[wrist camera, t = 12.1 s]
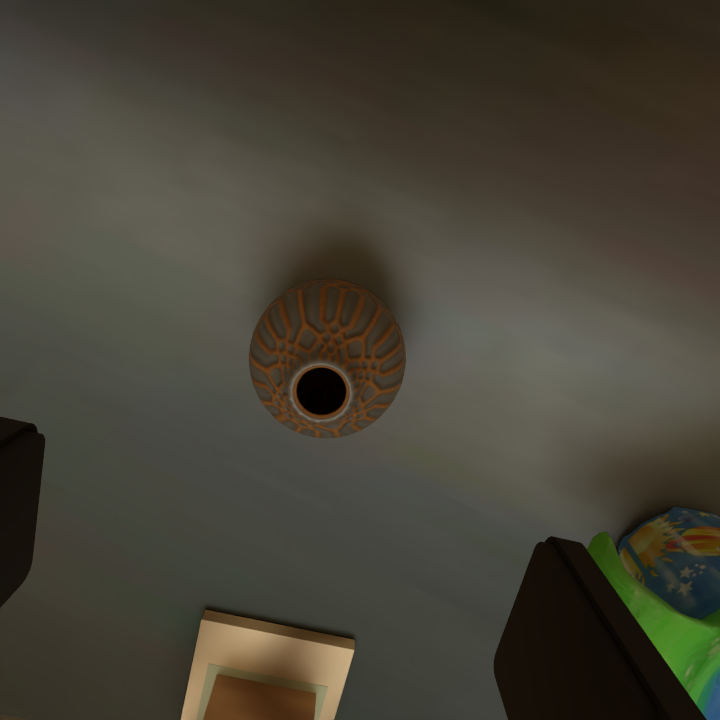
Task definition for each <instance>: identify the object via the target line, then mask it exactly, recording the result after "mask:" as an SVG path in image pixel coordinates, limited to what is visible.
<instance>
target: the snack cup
mask: <svg viewBox="0 0 720 720" xmlns="http://www.w3.org/2000/svg"><path fill="white" fill-rule="evenodd" d="M587 551H588V552H589V554H590V555H591V556H592V558H593V559H594V561H595V562H596V564H597V565H598V566H599V568H600V569H601V571H602V572H603V573H604V575H605V576H606V578H607V579H608V581H609V582H610V583H611V585H612V586H613V588H614V589H615V590H616V592H617V593H618V595H619V596H620V598H621V599H622V600H623V602H624V603H625V605H626V606H627V607H628V609H629V610H630V612H631V613H632V615H633V616H634V617H635V619H636V620H637V622H638V623H639V624H640V626H641V627H642V629H643V630H644V632H645V633H646V634H647V636H648V637H649V639H650V640H651V641H652V643H653V644H654V646H655V647H656V648H657V650H658V651H659V653H660V654H661V656H662V657H663V658H664V660H665V661H666V663H667V664H668V665H669V667H670V668H671V670H672V671H673V673H674V674H675V675H676V677H677V678H678V680H679V681H680V682H681V684H682V685H683V687H684V688H685V690H686V691H687V692H688V694H689V695H690V697H691V698H692V699H693V701H694V702H695V704H696V705H697V707H698V708H699V709H700V711H701V712H702V714H703V715H704V716H705V718H706V719H707V720H720V516H719V515H716V514H713V513H709V512H705V511H698V510H694V509H689V508H680V507H673V508H671V509H670V511H668V512H667V513H664V514H661V515H658V516H656V517H653V518H651V519H649V520H647V521H645V522H644V523H642V524H641V525H640V526H638V527H637V528H636V529H635V530H633V532H631V533H630V534H629V535H627V536H625V537H623V538H622V540H621V542H620V544H619V546H618V553H617V550H616V547H615V545H614V543H613V540H612V538H611V537H609V535H608V533H607V532H602V533H599V534H598V535H596V536H595V537H594V538H593V539H592V541H591V543H590V544H589V546H588V548H587Z"/></svg>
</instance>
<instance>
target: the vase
mask: <svg viewBox="0 0 720 720" xmlns="http://www.w3.org/2000/svg"><path fill="white" fill-rule="evenodd" d="M405 362H406V354H405V345H404V340H403V336H402V333H401V330H400V328H399V325H398V323H397V321H396V319H395V318H394V316H393V314H392V313H391V311H390V310H389V309H388V307H387V306H386V305H385V304H384V303H383V302H382V301H381V300H380V299H379V298H378V297H377V296H375V295H374V294H373V293H371V292H370V291H368V290H366V289H365V288H363V287H361V286H359V285H356V284H354V283H351V282H348V281H343V280H337V279H320V280H313V281H309V282H305V283H302V284H299V285H297V286H295V287H293V288H291V289H289V290H288V291H286V292H284V293H283V294H282V295H280V296H279V297H278V298H277V299H275V300H274V301H273V302H272V303H271V304H270V305H269V307H268V308H267V309H266V310H265V312H264V313H263V315H262V316H261V318H260V319H259V321H258V323H257V325H256V327H255V330H254V332H253V336H252V339H251V344H250V351H249V367H250V373H251V378H252V382H253V385H254V388H255V390H256V392H257V395H258V397H259V398H260V400H261V402H262V403H263V405H264V406H265V408H266V409H267V410H268V411H269V412H270V413H271V414H272V416H273V417H274V418H276V419H277V420H278V421H279V422H280V423H282V424H283V425H285V426H286V427H288V428H290V429H292V430H294V431H296V432H298V433H301V434H304V435H307V436H312V437H318V438H336V437H342V436H346V435H350V434H353V433H355V432H358V431H360V430H362V429H364V428H365V427H367V426H369V425H370V424H372V423H373V422H374V421H376V420H377V419H378V418H379V417H380V416H381V415H382V414H383V413H384V412H385V411H386V410H387V409H388V407H389V406H390V405H391V403H392V402H393V400H394V398H395V397H396V395H397V393H398V391H399V388H400V386H401V383H402V380H403V376H404V371H405Z"/></svg>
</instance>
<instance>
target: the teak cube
mask: <svg viewBox="0 0 720 720" xmlns="http://www.w3.org/2000/svg"><path fill="white" fill-rule="evenodd" d="M315 705H316V693H312V692H307V691H302V690H297V689H292V688H287V687H281V686H276V685H271V684H266V683H261V682H256V681H251V680H246V679H241V678H236V677H231V676H226V675H221V674H217V675H216V679H215V682H214V685H213V688H212V692H211V695H210V698H209V702H208V705H207V708H206V711H205V715H204V718H203V720H314V717H315Z"/></svg>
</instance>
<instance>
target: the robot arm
mask: <svg viewBox="0 0 720 720" xmlns="http://www.w3.org/2000/svg"><path fill="white" fill-rule="evenodd" d="M44 448H45V438H44V435H43V434H39V433H37V428H36V426H35V425H34V424H32V423H27V422H22V421H18V420H13V419H8V418H4V417H0V607H1V606H2V605H3V604H4V603H5V602H6V601H7V600H8V599H9V598H10V596H11V595H12V594H13V593H14V592H15V591H16V590H17V589H18V588H19V587H20V585H21V584H22V583H23V582H24V580H25V579H26V577H27V575H28V573H29V571H30V568H31V565H32V559H33V550H34V540H35V531H36V522H37V513H38V504H39V494H40V485H41V476H42V467H43V458H44ZM494 674H495V678H496V682H497V685H498V688H499V691H500V695H501V698H502V701H503V704H504V708H505V711H506V714H507V717H508V720H707V719H706V718H705V716H704V715H703V714H702V712H701V711H700V709H699V708H698V707H697V705H696V704H695V702H694V701H693V699H692V698H691V697H690V695H689V694H688V692H687V691H686V690H685V688H684V687H683V685H682V684H681V682H680V681H679V680H678V678H677V677H676V675H675V674H674V673H673V671H672V670H671V668H670V667H669V665H668V664H667V663H666V661H665V660H664V658H663V657H662V656H661V654H660V653H659V651H658V650H657V648H656V647H655V646H654V644H653V643H652V641H651V640H650V639H649V637H648V636H647V634H646V633H645V632H644V630H643V629H642V627H641V626H640V624H639V623H638V622H637V620H636V619H635V617H634V616H633V615H632V613H631V612H630V610H629V609H628V607H627V606H626V605H625V603H624V602H623V600H622V599H621V598H620V596H619V595H618V593H617V592H616V590H615V589H614V588H613V586H612V585H611V583H610V582H609V581H608V579H607V578H606V576H605V575H604V573H603V572H602V571H601V569H600V568H599V566H598V565H597V564H596V562H595V561H594V559H593V558H592V556H591V555H590V554H589V552H588V551H587V549H586V548H585V547H584V545H583V544H582V543H579V542H575V541H570V540H566V539H561V538H557V537H552V536H551V537H549V538H548V539H547V540H546V541H545V543H544V542H539V543H538V544H537V545H536V547H535V549H534V551H533V554H532V557H531V559H530V562H529V565H528V567H527V570H526V573H525V575H524V578H523V581H522V583H521V586H520V589H519V592H518V594H517V597H516V600H515V602H514V605H513V608H512V610H511V613H510V616H509V618H508V621H507V624H506V627H505V629H504V632H503V635H502V637H501V640H500V643H499V645H498V648H497V651H496V654H495V658H494ZM0 720H27V719H21V718H16V717H10V716H4V715H0Z"/></svg>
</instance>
